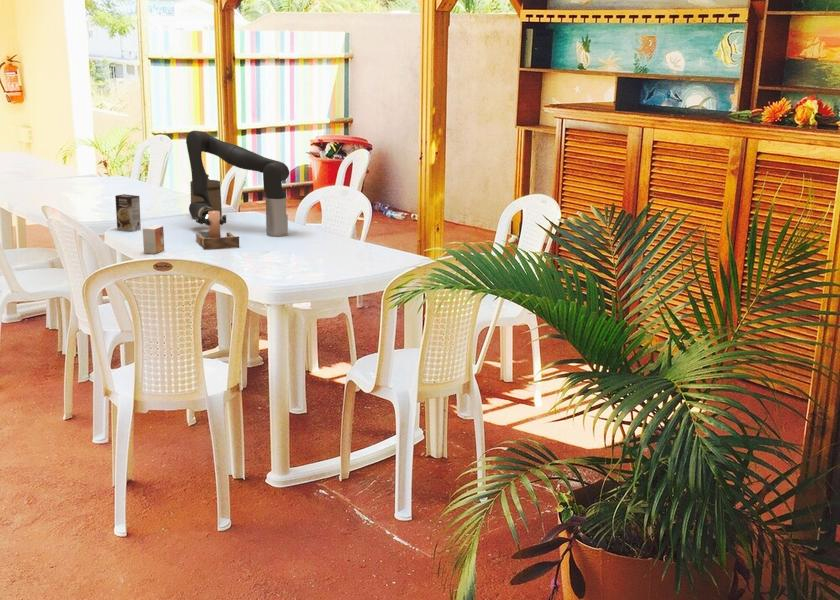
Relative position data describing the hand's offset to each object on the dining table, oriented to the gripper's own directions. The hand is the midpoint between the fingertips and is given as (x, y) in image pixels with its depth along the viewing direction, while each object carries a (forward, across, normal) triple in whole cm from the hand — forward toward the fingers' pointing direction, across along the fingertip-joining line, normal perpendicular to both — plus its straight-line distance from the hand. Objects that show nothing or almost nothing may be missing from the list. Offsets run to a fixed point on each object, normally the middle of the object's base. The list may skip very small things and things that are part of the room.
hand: (215, 222), depth 414 cm
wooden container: (-62, +8, +10) cm, 63 cm away
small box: (+9, -28, +9) cm, 31 cm away
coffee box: (-41, -32, +10) cm, 53 cm away
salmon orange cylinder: (-3, 0, +8) cm, 8 cm away
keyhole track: (+2, 0, +9) cm, 9 cm away
